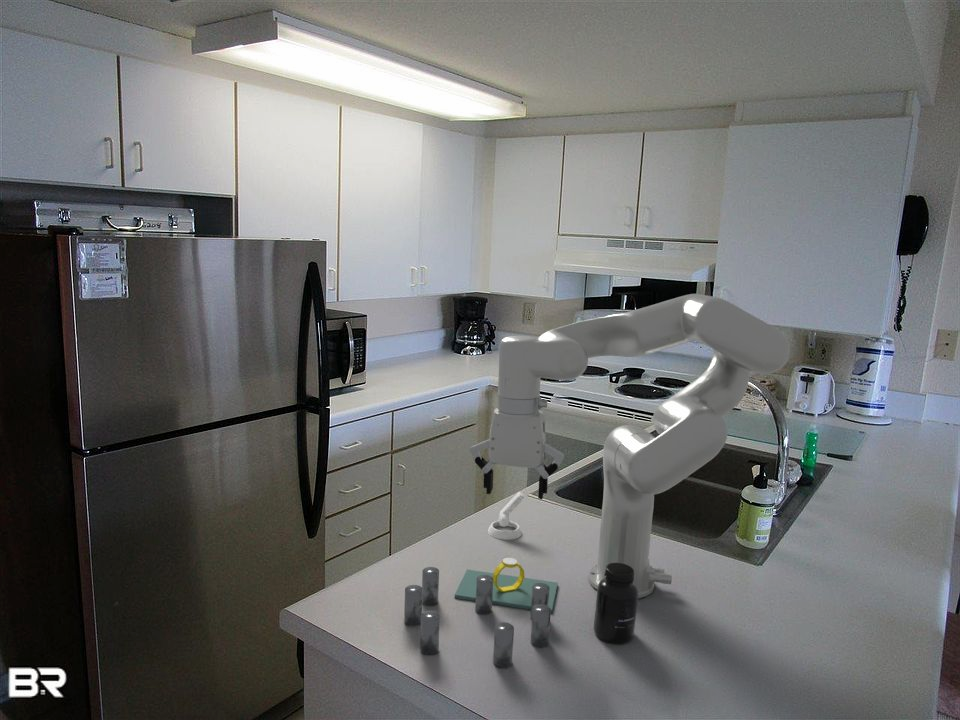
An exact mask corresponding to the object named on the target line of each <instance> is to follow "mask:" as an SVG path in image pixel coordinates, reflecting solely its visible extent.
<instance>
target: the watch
mask: <svg viewBox="0 0 960 720" xmlns="http://www.w3.org/2000/svg"><path fill="white" fill-rule="evenodd" d="M516 567H518V569H519V576H518V577H519V578H518V580H517V582H516V583H515V584H514V585H513V586H508V587H502V588H500V587H499V586H498V584H497V579H498V575H499V574H501V571H502V570H504V569H505V568H511V569H512V568H516ZM492 573H493V583H494V585H495V587H496V588H497V589H498V590H499V591H501V592H508V591H514V590H517V589H518V588H519V587H520V586H521V585H522V582H523V580H524V578H525V570H524V568H523V566H522V565H521V564H520V563H519V562H518V560H517V559H516V558H514V557H505V558H503V559H502V562H501V563H500V564H499V565H497V566H496V568H495V569H494V571H493V572H492Z"/></svg>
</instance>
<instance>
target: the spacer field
mask: <svg viewBox="0 0 960 720" xmlns="http://www.w3.org/2000/svg"><path fill="white" fill-rule="evenodd" d="M421 575H422V577H421V580H422V581H421V585H418V584H410V585H407V586H406V587H405V588H404V610H403V611H404V614H403V615H404V618H403V619H404V621H403V623H404V624H405V625H407V626H409V627H417V626H419V625H420V638H419V639H420V641H419V651H420V653H421V654H422V655H425V656H434V655H436V654H437V653H438V652H439V650H440V649H439V647H440V624H441V623H440V622H441V621H440V619H441V614H440V613H439V612H438V611H436V610H426V611H423V605H424V606H427V607H429V606H430V607H432V606H436V605H437V604H438V603H439V589H440V587H439V586H440V582H439V581H440V570H439V568H437V567H434V566H427V567H424V568H423V569H422V574H421ZM549 589H550V587H549V586H548V585H547V584H544V583H535V584H534V585H533V586H532V601H531V609H530V617H529V618H530V620H531V627H530V628H531V629H530V630H531V631H530V644H531V645H532V646H534V647H536V648H540V649H541V648H545V647H548V645H549V642H550V641H549V640H550V631H551V629H550V627H551V615H552V613H551V609H550V607H549V606H548V604H549ZM492 598H493V577H491V576H489V575H480V576H478V577H477V581H476V601H474V602H475V604H474V605H475V606H474V611H475V612H476V613H477V614H479V615H489V614H491V613H492V611H493V604H492ZM514 631H515V627H514V625H512V623H509V622H505V621H503V622H501V621H500V622H498V623H496V624H495V625H494V633H493V634H494V635H493V637H494V638H493V655H492V656H493V657H492V664H493V665H494V667H497V668H500V669H507V668H510V667H511V666H512V665H513V650H514V635H515V634H514V633H515V632H514Z"/></svg>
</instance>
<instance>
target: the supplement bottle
mask: <svg viewBox="0 0 960 720" xmlns="http://www.w3.org/2000/svg"><path fill="white" fill-rule="evenodd" d="M633 582H634V569H633V568H632V567H630V566H629V565H626V564H623V563H609V564H608V565H606V568H605V573H604V579H602V580H601V581H600V582H599V584H598V588H597V589H596V598H595V600H596V601H595V610H594V620H593V631H594V633H595V635H596V636H597V637H598V638H599V639H600V640H602V641H604V642H606V643H608V644H614V645H621V644H622V645H624V644H627V643H629V642H630V641H631V640H632V639H633V637H634V634H635V629H636V628H635V626H636V618H637V608H638V599H639V598H638V589H637V587H636V585H635V584H634V583H633Z"/></svg>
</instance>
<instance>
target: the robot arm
mask: <svg viewBox="0 0 960 720" xmlns="http://www.w3.org/2000/svg"><path fill="white" fill-rule="evenodd" d="M691 342H697V343H699V344H702V345H706V346H707V347H709V348H711V349H712V355H711V361H710V363H709V365H708V366H707V368H706V369H705V370H704V372H703V373H702V374H701V375H700V376H698V377H697V378H696V379H695V380H693V381H692V382H691V383H689V384H688V385H686V386H685V387H683V388H682V389H681V390H678V392H676V393H675V394H673V395H672V396H671V397H669V398H667V399H666V400H664V401H662V402H661V404H659V406H658V407H657V408H656V409H655V411H654V412H653V416H652V425H653V427H654V429H655V431H656V432H657V434H658V435H657V436H655V435H653V434H652V433H650V432H649V431H647V430H646V429H644V428H643V427H640V426H638V425H634V424H623V425H620V426H617V427H616V428H613V430H612V431H611V432H610V433H609V434H608V436H607V437H606V439H605V442H604V445H603V448H602V464H603V465H602V466H603V495H602V497H603V498H602V507H601V518H600V520H601V521H600V531H599V541H598V544H599V545H598V553H597V554H598V556H597V565H595V566H593V567H591V569H590V570H589V571H588V582H589V584H590V585H591V586H592V587H593V588H594V589H595V590H597V588H598V584H599V582H600V581H601V580H602V579H604V573H605V568H606V565H608V564H609V563H623V564H626V565H629V566H630V567H632V568H633V569H634V582H633V583H634V584H635V585H636V587H637V589H638V599H641V598H645V597H647V596H649V595H650V594H651V593H652V592H653V591H654V588H655V583H660V584H662V585H663V584H664V585H672V579H673V578H672V577H673V576H672V573H665V568H662V567H653V565H650V559H649V556H650V545H651V544H650V542H651V535H652V526H653V525H652V523H653V516H654V515H653V513H654V504H655V495H658V494H661V493H665V491H668V490H670V489H671V488H673V487H675V486H676V485H678V484H679V483H681V482H682V481H683V480H684V479H686V478H688V477H689V476H691V474H693V473H695V472H697V470H699V469H700V468H702V467H703V466H705V465H706V464H707V463H708V462H710V461H712V460H713V459H714V458H715V457H716V456H717V455H718V454H719V453H720V452H721V450H722V449H723V448H724V446H725V444H726V441H727V438H728V430H729V429H728V425H727V422H726V419H725V418H724V416H726V415H727V414H728V413H730V412H731V411H733V409H734V408H736V407H737V406H738V405H739V404H740V403H741V402H742V400H743V398H744V396H745V394H746V392H747V389H748V386H749V381H750V378H751V377H750V375H751V372H752V373H755V374H757V375H769V374H773V373H777V372H778V371H780V370H781V369H782V368H783V367H784V366H786V363H787V362H788V361H789V358H790V353H791V347H790V342H789V339H788V338H787V337H786V335H785V334H784V333H783V331H781V330H780V329H778V328H776V327H775V326H773V325H771V324H770V323H767V322H766V321H764V320H762V319H760V318H758V317H756V316H755V315H752V314H751V313H749V312H748V311H746V310H745V309H742V308H741V307H739V306H737V305H735V304H733V303H731V302H730V301H728V300H725V298H724V299H723V298H720V297H717V296H712V295H706V294H701V293H690V294H685V295H681V296H678V297H675V298H671V299H668V300H664V301H661V302H657V303H655V304H651V305H648V306H643V307H641V308H638V309H634V310H633V309H632V310H631V311H627V312H622V313H615V314H610V315H607V316H606V315H605V316H602V317H596V318H590V319H585V320H580V321H577V322H573V323H570V324H566V325H563V326H560V327H556V328H553V329H550V330H547V331H546V332H544V333H542V334H541V335H540V336H539V337H537V338H536V337H534V336H529V335H510V336H506V337H503V339H501V341H500V343H499V348H498V349H499V352H498V383H497V384H498V385H497V407H496V408H494V410H493V414H492V419H491V424H490V430H489V438H488V439H486V440H482V441H481V442H477V443H476V444H474V445H472V446H470V448H469V452H470V454H471V456H472V458H473V459H474V463H475V465H477V466H478V467H479V468H480V470H481V472H482V473H483V488H484V489H486V495H491V494H492V491H493V488H494V469H493V468H494V467H495V466H497V465H498V466H505V467H516V468H527V469H530V468H531V469H535V470H536V471H537V472H538V474H539V478H538V494H537V495H538V496H537V497H538V499H539V500H543V497H544V494H548V479H549V477H550V476H551V475H552V474H553V473H555V472H556V471H558V469H559V467H560V465H561V464H562V462H563V461H564V458H565V454H564V453H563V452H562V451H560V450H558V449H556V448H555V447H553V446H552V445H550V444H548V443H546V425H545V423H546V422H545V416H544V412H543V411H542V410H541V409H543V408H546V409H547V408H548V399H547V400H546V399H545V400H544V399H543V398H542V397H541V393H540V391H541V379H547V380H548V379H550V380H555V381H572V380H575V379H577V378H579V377H580V376H582V375H583V374H584V372H585V371H586V370H587V368H588V365H589V359H592V358H597V357H608V356H609V357H610V356H611V357H612V356H614V357H621V358H622V357H623V358H637V357H638V358H639V357H645V356H648V355H651V354H654V353H658V352H661V351H663V350H664V351H665V350H668V349H671V348H674V347H678V346H681V345H684V344H687V343H691ZM486 449H488V454H487V455H488V460H486V459H485V458H484V457H483V456H482V455H481V451H483V450H486ZM546 454H547V455H548V456H550V457H552V458H553V459H554V460H553V462H551V463H550V464H549V465H547V464H546V463H545V462H544V460H545V458H546V457H545V456H546Z"/></svg>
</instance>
